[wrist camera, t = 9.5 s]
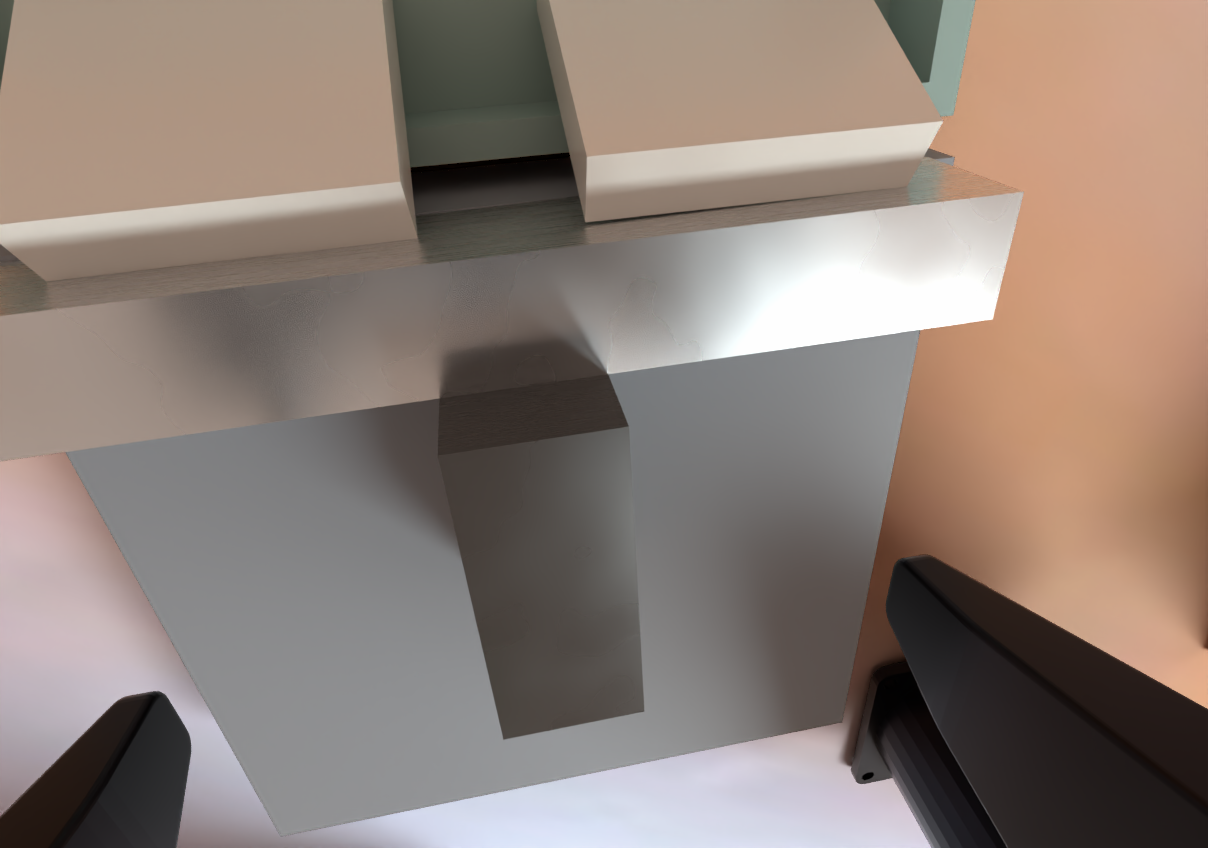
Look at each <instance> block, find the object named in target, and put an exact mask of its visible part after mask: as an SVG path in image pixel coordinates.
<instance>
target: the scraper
mask: <svg viewBox="0 0 1208 848" xmlns="http://www.w3.org/2000/svg"><path fill="white" fill-rule="evenodd" d="M1023 194H1024V192H1023V191H1020V190H1018V189H1015V188H1012V187H1009V186H1007V185H1004V184H1001V183H998V182H996V181H993V180H990V179H987V178H985V177H982V176H979V175H976V174H974V173H971V172H968V171H965V170H962V169H960V168H957V167H954V166H951V165H949V164H946V163H943V162H940V161H938V160H935V159H932V158H929V157H923V159H922V161H921V162H920V164H919V166H918V168H917V170H916V171H915V173H914V175H913V177H912V179H911V180H910V182H909V184H908V186H907V187H900V188H891V189H882V190H873V191H864V192H855V193H846V194H837V195H828V196H819V197H810V198H801V199H792V200H783V201H774V202H765V203H756V204H747V205H738V206H729V207H720V208H711V209H702V210H693V211H684V212H675V213H666V214H657V215H648V216H639V217H630V218H621V219H612V220H603V221H594V222H585V219H584V215H583V210H582V206H581V201H580V197H579V196H576V197H567V198H558V199H550V200H541V201H532V202H523V203H514V204H505V205H496V206H488V207H479V208H470V209H461V210H452V211H443V212H435V213H426V214H417V215H415V216H416V226H417V235H418V238H417V239H408V240H400V241H391V242H382V243H374V244H365V245H357V246H348V247H340V248H331V249H322V250H314V251H305V252H296V253H288V254H279V255H271V256H262V257H253V258H245V259H236V260H228V261H219V262H210V263H202V264H193V265H185V266H176V267H167V268H159V269H150V270H142V271H133V272H124V273H116V274H107V275H99V276H90V277H81V278H73V279H64V280H56V281H47V282H46V281H45V280H44V279H43V278H41V277H40V276H39V275H38V274H36V273H35V272H34V271H33V270H32V269H30V268H29V267H28V266H27V265H25V264H24V263H23V262H22V261H21V260H10V261H1V262H0V461H7V460H14V459H21V458H28V457H35V456H42V455H49V454H56V453H63V452H70V451H77V450H84V449H90V448H97V447H104V446H111V445H118V444H125V443H132V442H139V441H146V440H153V439H160V438H167V437H174V436H181V435H188V434H195V433H202V432H209V431H216V430H223V429H230V428H237V427H244V426H251V425H258V424H265V423H272V422H279V421H286V420H293V419H300V418H307V417H314V416H321V415H328V414H335V413H342V412H349V411H356V410H363V409H370V408H377V407H384V406H390V405H397V404H404V403H411V402H418V401H425V400H432V399H439V398H440V400H439V429H438V460H439V464H440V468H441V473H442V477H443V481H444V486H445V490H446V494H447V498H448V503H449V507H450V511H451V516H452V520H453V524H454V529H455V533H456V537H457V542H458V546H459V550H460V555H461V559H462V563H463V567H464V572H465V576H466V580H467V585H468V589H469V593H470V598H471V602H472V606H473V611H474V615H475V619H476V624H477V628H478V632H479V636H480V641H481V645H482V649H483V654H484V658H485V662H486V667H487V671H488V675H489V680H490V684H491V688H492V692H493V697H494V701H495V705H496V710H497V714H498V718H499V723H500V727H501V731H502V736H503V740H505V739H510V738H515V737H520V736H525V735H530V734H535V733H540V732H545V731H550V730H555V729H560V728H565V727H570V726H575V725H580V724H585V723H590V722H595V721H600V720H605V719H610V718H615V717H620V716H625V715H629V714H634V713H639V712H644V693H643V675H642V656H641V638H640V619H639V601H638V582H637V564H636V545H635V527H634V508H633V490H632V472H631V453H630V435H629V425H628V423H627V420H626V418H625V415H624V413H623V410H622V408H621V405H620V402H619V400H618V397H617V395H616V392H615V390H614V387H613V385H612V382H611V380H610V377H609V375H608V374H614V373H621V372H628V371H635V370H642V369H649V368H656V367H663V366H670V365H677V364H683V363H690V362H697V361H704V360H711V359H718V358H725V357H732V356H739V355H746V354H753V353H760V352H767V351H774V350H781V349H788V348H795V347H802V346H809V345H816V344H823V343H830V342H837V341H844V340H851V339H858V338H865V337H872V336H879V335H886V334H893V333H900V332H907V331H914V330H921V329H928V328H935V327H942V326H949V325H956V324H963V323H970V322H976V321H983V320H990V319H993V315H994V311H995V307H996V303H997V299H998V295H999V290H1000V286H1001V282H1002V278H1003V274H1004V270H1005V266H1006V262H1007V258H1008V254H1009V250H1010V246H1011V242H1012V238H1013V234H1014V230H1015V226H1016V222H1017V218H1018V214H1019V210H1020V206H1021V202H1022V198H1023Z"/></svg>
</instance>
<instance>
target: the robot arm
mask: <svg viewBox="0 0 1208 848" xmlns="http://www.w3.org/2000/svg"><path fill="white" fill-rule="evenodd" d="M886 612H887V617H888V620H889V623H890V625H891V627H892V629H893V631H894V634H895V636H896V638H897V640H898V642H899V645H900V647H901V649H902V651H903V653H904V656H905V658H906V660H907V662H902V663H897V664H892V665H887V666H884V667H881V668H880V669H878V670H876V671H875V672H874V673H873V675H872V677H871V682H870V686H869V691H868V695H867V700H866V704H865V709H864V713H863V718H862V722H861V727H860V731H859V736H858V740H857V745H856V749H855V754H854V758H853V763H852V767H851V772H852V774H853V776H854V778H855V780H856V782H857V783H859V784H866V783H871V782H876V781H880V780H885V779H890V778H893V779H894V781H895V783H896V784H897V786H898V788H899V790H900V792H901V793H902V795H903V797H904V799H905V801H906V803H907V804H908V806H909V808H910V810H911V812H912V813H913V815H914V817H915V819H916V821H917V822H918V824H919V826H920V828H921V830H922V831H923V833H924V835H925V837H926V839H927V840H928V842H929V844H930V846H931V848H1208V709H1207V708H1205V707H1203V706H1201V705H1199V704H1198V703H1196V702H1194V701H1192V700H1190V699H1189V698H1187V697H1185V696H1183V695H1181V694H1180V693H1178V692H1176V691H1174V690H1172V689H1171V688H1169V687H1167V686H1165V685H1163V684H1162V683H1160V682H1158V681H1156V680H1154V679H1153V678H1151V677H1149V676H1147V675H1146V674H1144V673H1142V672H1140V671H1138V670H1137V669H1135V668H1133V667H1131V666H1129V665H1128V664H1126V663H1124V662H1122V661H1120V660H1119V659H1117V658H1115V657H1113V656H1111V655H1110V654H1108V653H1106V652H1104V651H1102V650H1101V649H1099V648H1097V647H1095V646H1093V645H1092V644H1090V643H1088V642H1086V641H1084V640H1083V639H1081V638H1079V637H1077V636H1075V635H1074V634H1072V633H1070V632H1068V631H1066V630H1065V629H1063V628H1061V627H1059V626H1057V625H1056V624H1054V623H1052V622H1050V621H1048V620H1047V619H1045V618H1043V617H1041V616H1039V615H1038V614H1036V613H1034V612H1032V611H1030V610H1029V609H1027V608H1025V607H1023V606H1021V605H1020V604H1018V603H1016V602H1014V601H1012V600H1011V599H1009V598H1007V597H1005V596H1003V595H1002V594H1000V593H998V592H996V591H994V590H993V589H991V588H989V587H987V586H985V585H984V584H982V583H980V582H978V581H977V580H975V579H973V578H971V577H969V576H968V575H966V574H964V573H962V572H960V571H959V570H957V569H955V568H953V567H951V566H950V565H948V564H946V563H944V562H942V561H941V560H939V559H937V558H935V557H933V556H930V555H918V556H913V557H907V558H902V559H899V560H898V561H897V562H896V564H895V565H894V569H893V573H892V578H891V582H890V587H889V591H888V596H887V600H886ZM190 757H191V740H190V736H189V733H188V731H187V729H186V727H185V726H184V724H183V722H182V721H181V719H180V717H179V716H178V714H177V712H176V711H175V709H174V707H173V706H172V704H171V703H170V701H169V699H168V698H167V696H166V695H165V694H163V693H161V692H159V691H153V692H147V693H142V694H136V695H131V696H126V697H123V698H121V699H120V700H118V701H117V702H115V703H114V704H113V705H112V706H111V707H110V708H109V709H108V710H107V711H106V712H105V713H104V714H103V715H102V716H101V717H100V718H99V719H98V720H97V721H96V722H95V723H94V724H93V725H92V726H91V727H90V728H89V729H88V730H87V731H86V732H85V733H84V734H83V735H82V736H81V737H80V738H79V739H78V740H77V741H76V742H75V743H74V744H73V745H72V746H71V747H70V748H69V749H68V750H67V751H66V752H65V753H64V754H63V755H62V756H61V757H60V758H59V759H58V760H57V761H56V762H55V763H54V764H53V765H52V766H51V767H50V768H49V769H48V770H47V771H46V772H45V773H44V774H43V775H42V776H41V777H40V778H38V779H37V780H36V781H35V782H34V783H33V784H32V785H31V786H30V787H29V788H28V789H27V790H26V791H25V792H24V793H23V794H22V795H21V796H20V797H19V798H18V799H17V800H16V801H15V802H14V803H13V804H12V805H11V806H10V807H9V808H8V809H7V810H6V811H5V812H4V813H3V814H2V815H1V816H0V848H176V847H177V841H178V834H179V828H180V821H181V815H182V808H183V802H184V795H185V789H186V783H187V776H188V770H189V763H190Z"/></svg>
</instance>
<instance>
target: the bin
mask: <svg viewBox="0 0 1208 848" xmlns="http://www.w3.org/2000/svg"><path fill="white" fill-rule="evenodd" d="M392 1H393V11H394V20H395V29H396V39H397V48H398V57H399V67H400V76H401V86H402V95H403V104H404V114H405V123H406V132H407V142H408V151H409V160H410V167H420V166H431V165H441V164H452V163H462V162H473V161H483V160H493V159H504V158H514V157H525V156H535V155H545V154H556V153H566V152H569V149H568V144H567V140H566V135H565V131H564V126H563V122H562V118H561V113H560V109H559V104H558V100H557V96H556V91H555V87H554V82H553V78H552V74H551V69H550V65H549V60H548V56H547V52H546V47H545V43H544V38H543V34H542V30H541V25H540V21H539V16H538V12H537V0H392ZM874 1H875V3H876V5H877V6H878V8H879V10H880V12H881V13H882V15H883V17H884V19H885V20H886V22H887V24H888V26H889V27H890V29H891V31H892V33H893V34H894V36H895V38H896V40H897V41H898V43H899V45H900V46H901V48H902V50H903V52H904V53H905V55H906V57H907V59H908V60H909V62H910V64H911V66H912V67H913V69H914V71H915V73H916V74H917V76H918V78H919V80H920V81H921V83H922V85H923V86H924V88H925V90H926V92H927V93H928V95H929V97H930V99H931V100H932V102H933V104H934V106H935V107H936V109H937V111H938V113H939V114H940V116H952V115H953V114H954V109H955V104H956V99H957V93H958V88H959V83H960V78H961V73H962V67H963V62H964V57H965V52H966V47H967V41H968V36H969V31H970V26H971V21H972V16H973V10H974V5H975V0H874ZM13 6H14V0H0V89H1V83H2V76H3V70H4V63H5V57H6V51H7V44H8V38H9V31H10V25H11V18H12V12H13Z"/></svg>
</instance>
